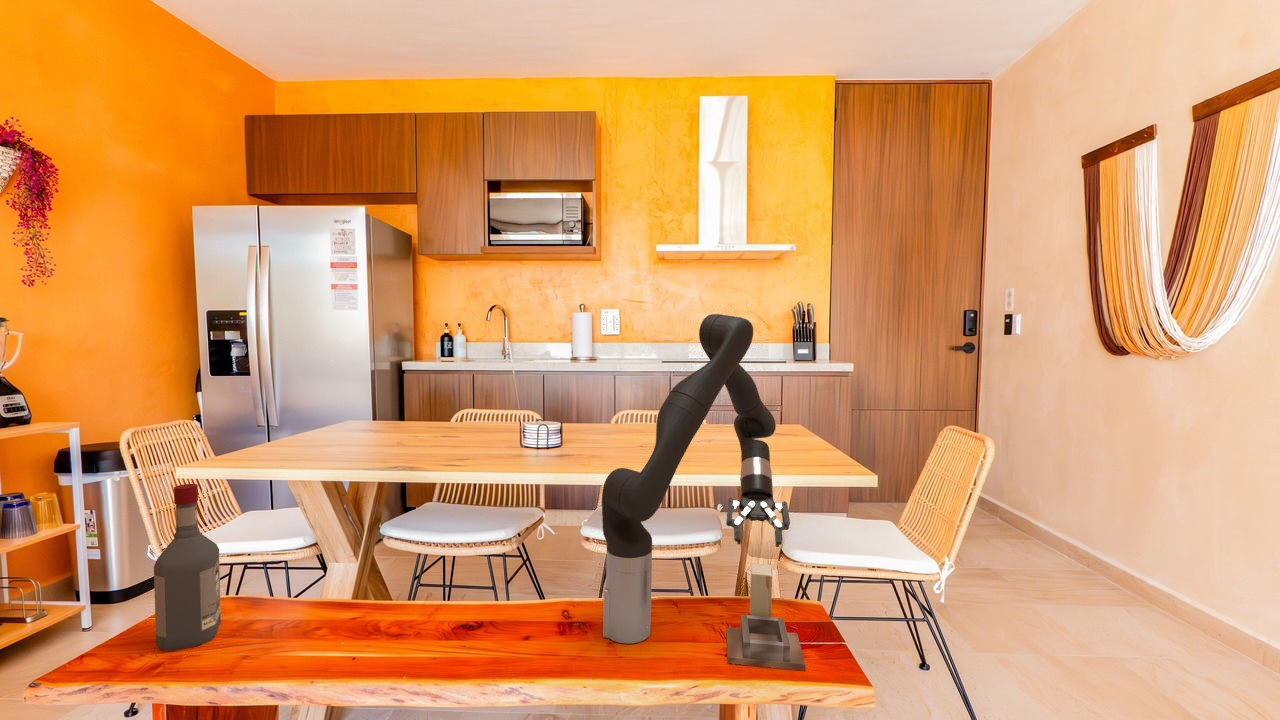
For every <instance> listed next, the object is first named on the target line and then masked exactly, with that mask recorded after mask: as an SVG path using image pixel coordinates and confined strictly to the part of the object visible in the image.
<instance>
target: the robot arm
mask: <svg viewBox="0 0 1280 720" xmlns="http://www.w3.org/2000/svg"><path fill="white" fill-rule="evenodd" d="M698 336H699V337H698V338H699V342H700V344H701V345H700V346H701V347H702V349H703V351H704V353H705V355H706V356H707V358H708V359H709V361H708V362H707V363H706V364H705V365H703V366H702V367H700V368H699V369H697V370H696V371H693V372H692V373H690V374H689V375H687V376H686V377H684V378H683V379H682V380H681V381H679V382H678V383H677V384H676V385H674V387H672V388H671V391H670V392H669V393H668V395H667V396H666V398H665V400H664V402H663V403H662V405H661V407H660V408H659V411H658V414H657V416H656V427H655V428H656V429H655V430H656V433H655V445H654V448H653V450H652V453H651V455H650V457H649V459H648V460H647V462H646V464H645V465H644V467H643V468H642V470H641V471H638V470H633V469H630V468H628V467H627V468H626V467H619V468H616V469H613V470H612V471H611V472H610V473H609V474H608V475H607V477H606V478H605V481H604V484H603V487H602V493H601V513H602V514H601V515H602V517H601V518H602V520H601V521H602V533H603V537H604V540H605V543H606V562H605V563H606V565H605V566H606V571H605V572H606V575H605V579H606V580H605V587H604V590H603V607H602V608H603V612H602V613H603V614H602V615H603V616H602V619H603V621H602V622H603V623H602V637H603V638H607V639H609V640H611V641H613V642H616V643H620V644H637V643H641V642H643V641H644V640H646V639H648V637H650V636H651V627H652V623H651V622H652V621H651V620H652V619H651V618H652V616H651V615H652V581H653V580H652V579H653V577H652V569H653V537H652V535H651V534H650V532H649V531H648V529H646V527H645V526H644V525H643V523H642V522H646V521H647V520H649V519H651V518H652V517H653V516H654V515H655V514H656V512H657V511H658V510H659V508H660V506H661V504H662V503H663V500H664V498H665V496H666V494H667V492H668V489H669V487H670V485H671V482H672V481H673V479H674V475H675V474H676V471H677V469H678V467H679V465H680V463H681V461H682V460H683V457H684V455H685V454H686V452H687V450H688V448H689V446H690V444H691V442H692V441H693V439H694V438H695V436H696V434H697V432H698V431H699V429H700V428H701V425H702V424H703V423H704V421H705V419H706V417H707V415H708V413H710V410H711V408H712V406H713V404H714V403H715V400H716V399H717V398H718V395H719V394H720V392H721V390H722V388H724V386H725V388H726V390H727V393H728V395H729V398H730V401H731V404H732V406H733V409H734V411H735V413H736V414H737V415H736V417H735V418H734V421H733V427H734V431H735V434H736V437H737V439H738V443H739V447H740V452H741V453H740V455H741V458H740V459H741V462H740V463H741V464H740V466H741V467H740V478H739V480H740V500H739V501H738V500H734V499H733V498H731V497H730V498H728V499H727V507H726V508H727V510H726V523H725V524H726V526H728V527H731V528H733V537H734V538H733V540H734V542H737V545H741V543H742V542H741V541H742V530H741V529H742V528H741V527H742V525H744V524H745V523H746V522H747V520H750V522H751V521H752V522H754V521H759V522H765V521H766V522H767V523H768V524H769V525H770V526H771V527H773V529H774V540H775V541H774V542H775V548H779V547H780V545H782V543H783V531H785V530H786V531H788V530H789V529H790V524H791V522H790V521H791V520H790V513H789V508H788V507H789V505H788V502H787V501H782V502H781V503H779V502H778V503H776V502H775V500H774V493H773V491H774V490H773V474H772V467H771V455H770V447H769V446H770V445H769V444H768V443H766V442H765V441H764V440H761V439H765V438H770V437H771V436H773V435H774V434H775V431H776V427H777V425H776V420H775V417H774V415H773V414H772V413H771V411H770V410H769V409H768V407H767V406H766V405H765V404H764V402H763V401H762V400H761V397H760V393H759V390H758V387H757V384H756V382H755V381H754V379H753V377H752V376H751V375H750V374H749V373H748V372H747V370H746V369H745V368H744V367H743V366H742V365H741V364H740V363H741V361H742V360H743V359H744V358H745V356H746V354H747V352H748V350H749V349H750V346H751V344H752V342H753V338H754V326H753V324H752V323H751V321H750V320H748V319H747V318H744V317H740V316H734V315H728V314H727V315H726V314H719V313H711V314H708V315H706V317H705V318H703V319H702V322H701V323H700V326H699V331H698ZM737 508H739V510H741V512H740V513H739V516H738V517H737V518H736V519H734V518H733V511H736V509H737ZM775 510H777V511H778V513H779V514H781V518H782V519H781V520H782V522H781V521H780V520H779V519H778V517H777V515H776V513H774V511H775Z"/></svg>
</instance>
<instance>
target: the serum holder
mask: <svg viewBox="0 0 1280 720" xmlns="http://www.w3.org/2000/svg"><path fill="white" fill-rule="evenodd" d="M726 652H727V654H728V655H727V664H728V663H732V664H731V665H735V664H741V665H740V666H746V665H751V666H750V667H757V666H764V667H763V668H768V667H771V668H770V669H781V670H791V671H792V670H793V671H803V672H805V671H806V660H805V658H804V654H803V650H802V646H801V643H800V640H799V635H798V633H797V632H787V628H786V623H785V619H784V618H783V617H773V616H771V617H762V616H750V614H749V615H747V614H741V615H740V627H739V628H738V627H727V626H726Z"/></svg>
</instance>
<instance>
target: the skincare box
mask: <svg viewBox="0 0 1280 720" xmlns="http://www.w3.org/2000/svg"><path fill="white" fill-rule="evenodd" d="M750 567H751V569H750V589H749V590H750V593H749V594H750V595H749V597H750V598H749V599H750V600H749V601H750V602H749V615H750V616H762V617H772V601H773V600H772V596H773V567H772V565H771V564H763V563H754V562H752V563H751V566H750Z"/></svg>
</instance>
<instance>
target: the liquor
mask: <svg viewBox="0 0 1280 720" xmlns="http://www.w3.org/2000/svg"><path fill="white" fill-rule="evenodd" d="M198 486H199V485H198V484H197V483H185V484H179V485H176V486H174V487H173V504H174V505H175V532H174V535H173V536H174V538H173V539H172V540H171V541H170V543H169V544H168V545H167V546H166V547H165V549H164V550H163V551H162V552H161V554H159V556H158V558H157V559H156V560H155V564H154V566H153V582H154V583H153V585H154V586H153V587H154V589H153V590H154V614H155V615H154V618H155V621H154V623H155V646H156V647H157V648H158V649H159V650H162V651H166V652H173V651H178V650H184V649H189V648H194V647H200V646H202V645H204V644H206V643H208V642H210V641H212V640H214V639H215V637H216V635H217V633H218V630H219V627H220V625H221V623H222V622H221V621H222V620H221V615H222V613H221V579H220V577H221V576H220V575H221V574H220V573H221V571H220V548H219V546H218V544H217V543H215V542H214V541H213V540H211V539H210V538H208V537H207V536H206V535H204V534H203V533H201V532H200V528H199V524H198V504H197V503H198V501H199V488H198Z"/></svg>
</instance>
